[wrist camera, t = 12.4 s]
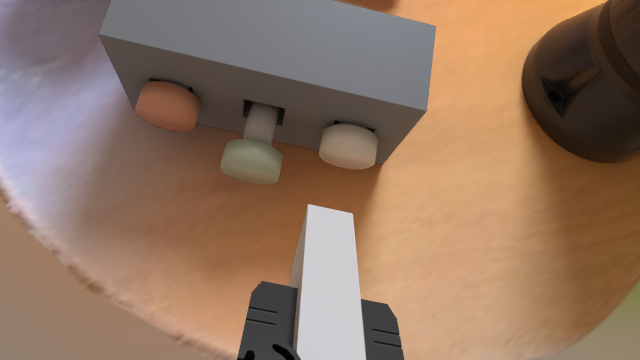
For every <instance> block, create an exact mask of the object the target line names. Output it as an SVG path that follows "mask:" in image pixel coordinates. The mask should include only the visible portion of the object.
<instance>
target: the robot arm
mask: <svg viewBox="0 0 640 360" xmlns="http://www.w3.org/2000/svg"><path fill="white" fill-rule="evenodd" d="M523 86H524V92H525V96H526V99H527V102H528V105H529V107H530V109H531V111H532V113H533V115H534V117H535V118H536V120H537V121H538V123H539V124H540V125H541V127H542V128H543V129H544V130H545V131H546V133H547V134H548V135H549V136H550V137H551V138H553V139H554V140H555V141H556V142H557V143H558V144H560V145H561V146H563V147H564V148H565V149H567V150H569V151H570V152H572V153H574V154H576V155H578V156H581V157H583V158H586V159H589V160H593V161H597V162H605V163H615V162H622V161H626V160H629V159H632V158H634V157H636V156H639V155H640V0H608V1H607V2H605V3H603V4H601V5H598V6H596V7H594V8H591V9H589V10H587V11H585V12H583V13H581V14H578V15H576V16H574V17H572V18H570V19H567V20H565V21H563V22H561V23H559V24H557V25H556V26H554V27H553V28H551V29H550V30H549V31H548V32H547V33H546V34H545V35H544V36H543V37H542V38H541V39H540V40H539V41H538V42H537V43H536V44H535V45H534V46H533V47H532V49H531V50H530V52H529V54H528V56H527V58H526V61H525V64H524V70H523ZM401 346H402V345H401V339H400V336H399V328H398V323H397V318H396V317H395V315H394V314H393V312H392V311H391V309H390V308H389V306H388V305H387V304H384V303H378V302H373V301H368V300H363V299H361V298H360V287H359V276H358V264H357V253H356V242H355V231H354V220H353V213H348V212H344V211H339V210H334V209H329V208H324V207H320V206H315V205H310V204H308V206H307V210H306V214H305V218H304V222H303V226H302V230H301V234H300V238H299V242H298V246H297V250H296V254H295V258H294V262H293V266H292V269H291V277H290V286H285V285H279V284H274V283H269V282H264V281H262V282H261V283H260V284H259V285H258V286H257V287H256V288H255V289H254V290H253V291H252V294H251V299H250V303H249V308H248V312H247V317H246V322H245V326H244V331H243V335H242V340H241V345H240V349H239V354H238V358H237V360H404V356H403V350H402V349H401Z"/></svg>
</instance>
